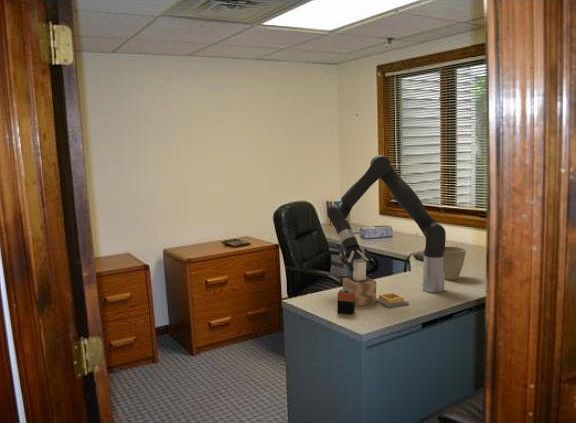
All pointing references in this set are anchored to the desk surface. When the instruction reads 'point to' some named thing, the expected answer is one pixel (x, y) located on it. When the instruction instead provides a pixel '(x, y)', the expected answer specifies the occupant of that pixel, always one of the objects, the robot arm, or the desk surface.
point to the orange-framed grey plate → (391, 300)
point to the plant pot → (453, 262)
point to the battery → (346, 302)
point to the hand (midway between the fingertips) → (360, 270)
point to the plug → (359, 269)
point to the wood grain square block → (361, 290)
